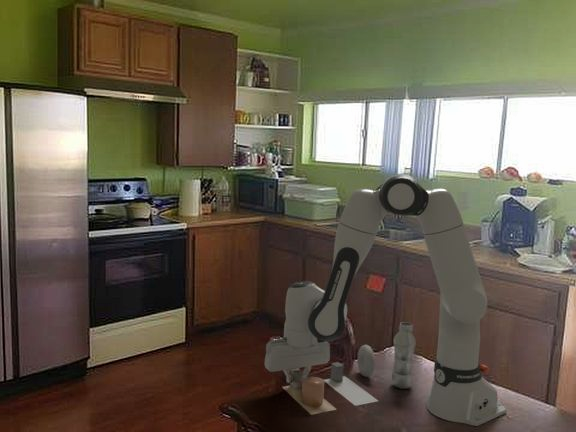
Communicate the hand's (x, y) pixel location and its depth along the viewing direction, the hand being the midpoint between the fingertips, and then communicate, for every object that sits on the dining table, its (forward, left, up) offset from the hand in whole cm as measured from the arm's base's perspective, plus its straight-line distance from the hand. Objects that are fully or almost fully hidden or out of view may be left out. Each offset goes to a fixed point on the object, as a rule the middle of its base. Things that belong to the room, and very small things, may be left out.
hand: (296, 380), depth 162 cm
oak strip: (0, +7, -3) cm, 8 cm away
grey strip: (-14, +7, -3) cm, 16 cm away
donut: (-26, -2, -3) cm, 26 cm away
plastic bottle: (-32, +9, -3) cm, 33 cm away
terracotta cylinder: (0, +10, -2) cm, 10 cm away
